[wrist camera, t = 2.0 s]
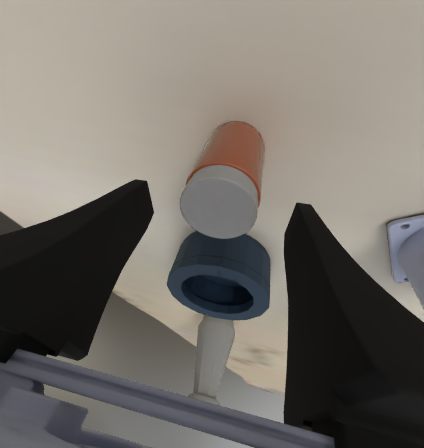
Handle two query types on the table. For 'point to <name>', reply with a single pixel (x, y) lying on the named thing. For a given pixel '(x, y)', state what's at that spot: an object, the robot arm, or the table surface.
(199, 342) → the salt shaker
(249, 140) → the shaker
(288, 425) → the robot arm
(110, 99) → the table surface
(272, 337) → the table surface
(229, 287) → the dark blue bowl
